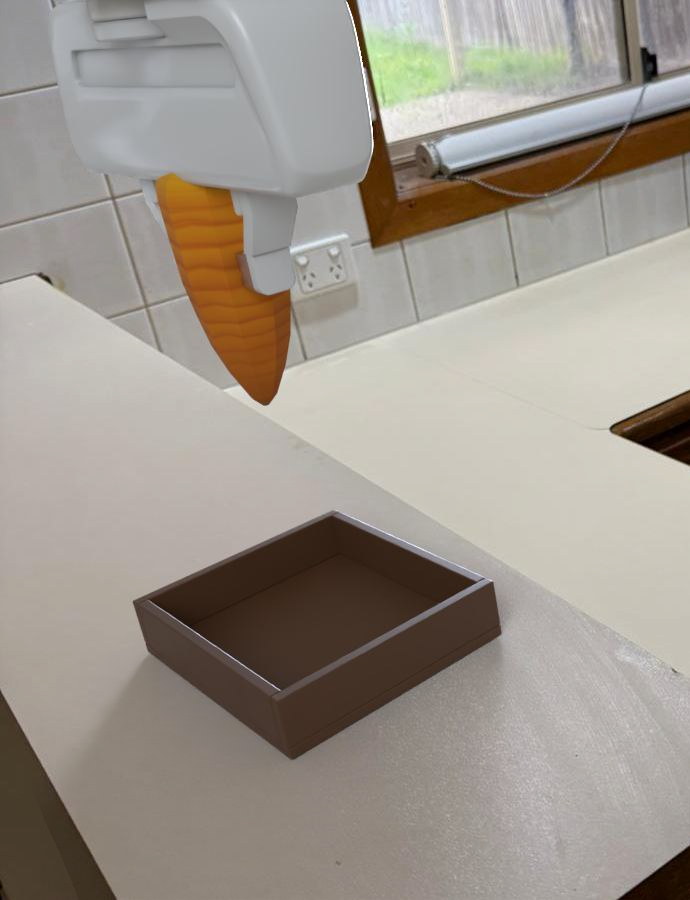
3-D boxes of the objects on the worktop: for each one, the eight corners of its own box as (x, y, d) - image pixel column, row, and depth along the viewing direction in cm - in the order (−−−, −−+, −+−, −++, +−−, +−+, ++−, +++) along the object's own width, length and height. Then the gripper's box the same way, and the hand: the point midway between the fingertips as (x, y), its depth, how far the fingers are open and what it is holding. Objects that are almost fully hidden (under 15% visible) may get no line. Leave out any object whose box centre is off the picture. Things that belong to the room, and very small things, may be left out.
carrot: (273, 380, 56) (200, 62, 50) (342, 393, 53) (273, 58, 48) (189, 416, 53) (100, 78, 47) (258, 432, 50) (172, 74, 44)
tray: (147, 651, 59) (131, 600, 58) (344, 555, 67) (334, 508, 65) (291, 760, 50) (276, 702, 48) (502, 634, 57) (493, 580, 56)
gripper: (-17, -32, 50) (72, 274, 56) (205, -76, 36) (294, 336, 42) (121, -44, 54) (192, 243, 60) (367, -87, 40) (430, 291, 46)
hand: (236, 282), depth 51 cm, fingers closed on carrot, 5 cm apart
